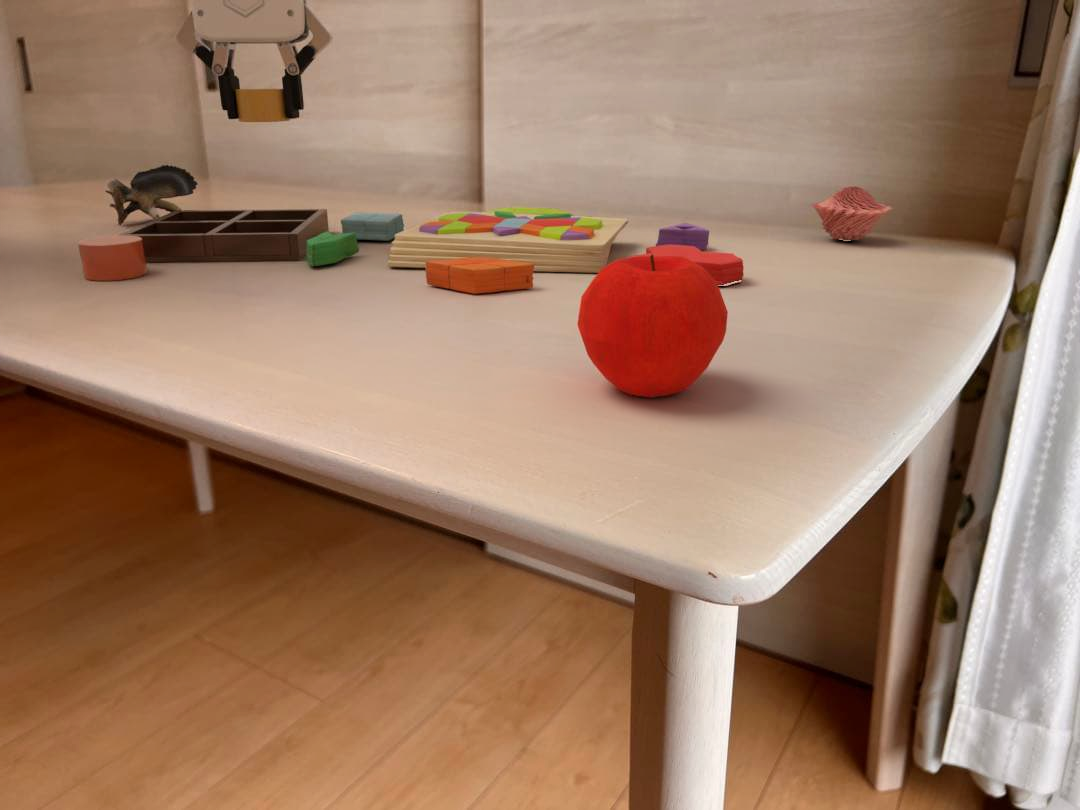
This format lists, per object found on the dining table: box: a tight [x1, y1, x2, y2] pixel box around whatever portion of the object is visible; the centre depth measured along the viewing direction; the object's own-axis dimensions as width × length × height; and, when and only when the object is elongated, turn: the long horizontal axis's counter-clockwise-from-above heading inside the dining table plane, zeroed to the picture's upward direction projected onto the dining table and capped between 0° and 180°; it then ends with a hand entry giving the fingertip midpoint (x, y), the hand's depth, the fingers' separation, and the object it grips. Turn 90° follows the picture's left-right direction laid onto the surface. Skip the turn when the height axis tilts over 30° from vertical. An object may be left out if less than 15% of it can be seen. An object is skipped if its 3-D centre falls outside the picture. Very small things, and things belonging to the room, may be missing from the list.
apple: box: [577, 254, 729, 398], centre depth 46 cm, size 8×8×7 cm
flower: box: [810, 186, 894, 241], centre depth 89 cm, size 8×8×6 cm
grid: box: [116, 208, 330, 263], centre depth 87 cm, size 16×16×2 cm
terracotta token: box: [77, 234, 148, 282], centre depth 74 cm, size 5×5×3 cm
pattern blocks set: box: [306, 206, 745, 295], centre depth 83 cm, size 38×34×3 cm
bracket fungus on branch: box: [105, 164, 199, 226], centre depth 101 cm, size 8×7×9 cm
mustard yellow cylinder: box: [235, 88, 292, 123], centre depth 85 cm, size 5×5×3 cm
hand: (264, 116), depth 86 cm, fingers closed on mustard yellow cylinder, 5 cm apart
